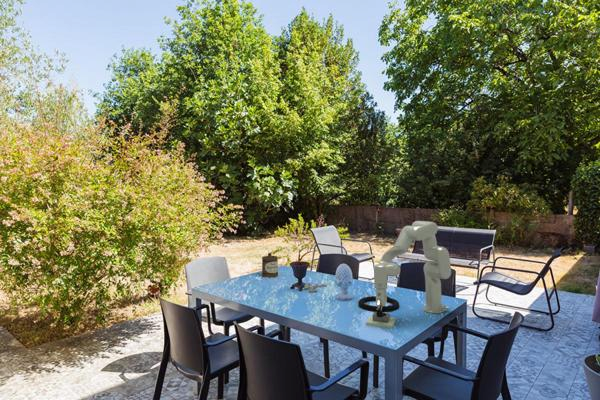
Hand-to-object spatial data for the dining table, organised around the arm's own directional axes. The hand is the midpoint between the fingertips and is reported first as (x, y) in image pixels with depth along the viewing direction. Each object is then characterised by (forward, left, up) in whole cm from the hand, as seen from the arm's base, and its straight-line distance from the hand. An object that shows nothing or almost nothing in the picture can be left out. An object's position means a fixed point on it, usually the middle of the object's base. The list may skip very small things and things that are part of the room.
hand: (381, 314), depth 221 cm
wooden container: (+121, -93, -5) cm, 152 cm away
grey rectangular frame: (0, 0, -3) cm, 3 cm away
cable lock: (+8, -34, -6) cm, 35 cm away
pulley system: (+66, -63, -6) cm, 91 cm away
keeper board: (0, 0, -5) cm, 5 cm away
